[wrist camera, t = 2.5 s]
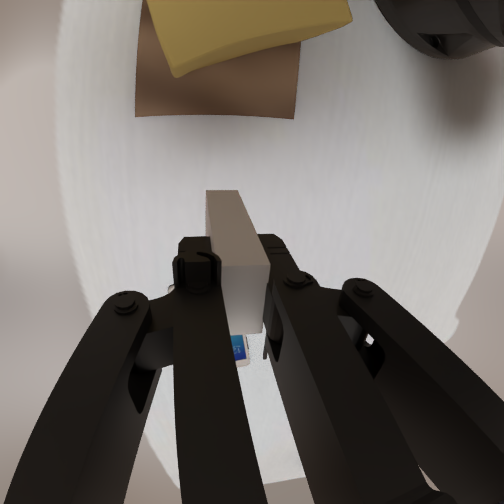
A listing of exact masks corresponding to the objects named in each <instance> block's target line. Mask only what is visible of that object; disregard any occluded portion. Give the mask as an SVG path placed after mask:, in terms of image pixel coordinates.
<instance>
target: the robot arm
mask: <svg viewBox="0 0 504 504" xmlns="http://www.w3.org/2000/svg"><path fill="white" fill-rule="evenodd" d="M376 2H377V4H378V6H379V8H380V10H381V12H382V13H383V15H384V16H385V18H386V19H387V21H388V22H389V23H390V25H391V26H392V27H393V28H394V29H395V31H396V32H397V33H398V34H399V35H400V36H401V37H402V38H403V39H404V40H405V41H406V42H407V43H409V44H410V45H411V46H412V47H414V48H415V49H417V50H418V51H420V52H422V53H424V54H426V55H428V56H431V57H434V58H439V59H463V58H466V57H469V56H471V55H474V54H477V53H479V52H482V51H484V50H487V49H490V48H493V47H495V46H499V47H504V0H376ZM172 266H173V278H174V289H173V290H172V291H171V292H170V293H169V294H167V295H165V296H163V297H160V298H157V299H153V300H148V298H147V297H146V296H145V295H144V294H142V293H140V292H136V291H123V292H119V293H116V294H114V295H112V296H110V297H109V298H108V299H107V300H106V301H105V302H104V304H103V305H102V307H101V308H100V310H99V312H98V313H97V315H96V316H95V318H94V319H93V321H92V323H91V324H90V326H89V328H88V329H87V331H86V332H85V334H84V336H83V338H82V339H81V341H80V342H79V344H78V346H77V347H76V349H75V351H74V353H73V354H72V356H71V358H70V359H69V361H68V363H67V365H66V367H65V368H64V370H63V372H62V374H61V376H60V377H59V379H58V381H57V383H56V385H55V387H54V389H53V390H52V392H51V394H50V396H49V398H48V401H47V402H46V404H45V406H44V408H43V410H42V412H41V414H40V416H39V418H38V420H37V422H36V425H35V427H34V429H33V431H32V433H31V435H30V438H29V440H28V442H27V444H26V447H25V449H24V451H23V454H22V456H21V458H20V461H19V463H18V466H17V468H16V471H15V473H14V476H13V479H12V482H11V484H10V487H9V489H8V492H7V495H6V498H5V501H4V504H123V503H124V499H125V495H126V491H127V488H128V483H129V480H130V476H131V472H132V469H133V465H134V461H135V458H136V454H137V451H138V447H139V444H140V440H141V437H142V433H143V430H144V427H145V423H146V420H147V417H148V413H149V410H150V407H151V404H152V400H153V397H154V394H155V391H156V388H157V384H158V381H159V378H160V375H161V372H162V368H163V367H166V366H169V365H173V375H174V408H175V428H176V444H177V457H178V469H179V479H180V489H181V498H182V504H268V502H267V498H266V494H265V490H264V487H263V482H262V478H261V474H260V470H259V466H258V462H257V458H256V454H255V449H254V445H253V441H252V436H251V432H250V427H249V423H248V418H247V414H246V409H245V405H244V400H243V395H242V391H241V386H240V381H239V376H238V371H237V366H236V361H235V356H234V351H233V346H232V341H231V336H230V335H244V334H256V333H262V328H263V322H264V325H265V328H266V338H265V345H264V351H263V359H266V358H267V353H268V355H269V358H270V362H271V365H272V368H273V371H274V375H275V378H276V381H277V385H278V388H279V391H280V395H281V398H282V401H283V404H284V408H285V411H286V414H287V417H288V421H289V424H290V427H291V430H292V434H293V437H294V440H295V443H296V447H297V450H298V453H299V456H300V459H301V462H302V466H303V469H304V472H305V475H306V478H307V481H308V485H309V488H310V491H311V494H312V497H313V500H314V503H315V504H504V401H503V400H502V399H501V398H500V397H499V396H498V395H497V394H496V393H495V392H494V391H493V390H492V389H491V388H490V387H489V386H488V385H487V384H486V383H485V382H484V381H483V380H482V379H481V378H480V377H478V375H476V373H474V372H473V371H472V370H471V369H470V368H469V367H468V366H467V365H466V364H465V363H464V362H463V361H462V360H461V359H460V358H459V357H458V356H457V355H456V354H455V353H453V352H452V351H451V350H450V349H449V348H448V347H447V346H446V345H445V344H444V343H443V342H442V341H441V340H439V339H438V338H437V337H436V336H435V335H434V334H433V333H432V332H431V331H429V330H428V329H427V328H426V327H425V326H424V325H423V324H422V323H421V322H419V321H418V320H417V319H416V318H415V317H414V316H413V315H411V314H410V313H409V312H408V311H407V310H406V309H405V308H403V307H402V306H401V305H400V304H399V303H398V302H397V301H395V300H394V299H393V298H392V297H391V296H389V295H388V294H387V293H386V292H385V291H384V290H382V289H381V288H380V287H379V286H378V285H376V284H375V283H373V282H371V281H369V280H366V279H363V278H351V279H348V280H346V281H345V282H344V284H343V286H342V290H338V289H330V288H324V287H320V286H319V284H318V282H317V281H316V279H315V278H314V277H313V276H312V275H310V274H308V273H306V272H304V271H300V270H299V268H298V266H297V265H296V263H295V261H294V259H293V258H292V256H291V254H290V252H289V251H288V249H287V248H286V245H285V244H284V242H283V240H282V239H280V238H279V237H278V236H276V235H275V234H257V233H256V231H255V228H254V226H253V224H252V222H251V219H250V217H249V215H248V213H247V210H246V208H245V206H244V204H243V201H242V199H241V197H240V195H239V192H238V190H206V236H201V237H184V238H183V239H182V240H181V241H180V242H179V244H178V255H177V256H176V257H175V258H174V260H173V262H172ZM368 334H369V335H370V336H371V337H372V338H373V339H374V341H373V344H372V345H371V344H369V343H367V342H366V341H365V340H366V338H367V336H368ZM418 465H419V466H418ZM419 467H420V468H421V469H422V470H423V471H424V472H425V474H426V475H427V476H428V477H429V478H430V480H431V481H432V482H433V483H434V484H435V486H436V487H437V488H438V489H439V490H440V491H436V490H433V489H432V488H431V487H429V485H428V484H427V482H426V480H425V478H424V476H423V474H422V472H421V470H420V468H419Z"/></svg>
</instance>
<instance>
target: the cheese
mask: <svg viewBox="0 0 504 504" xmlns="http://www.w3.org/2000/svg"><path fill="white" fill-rule="evenodd" d="M146 1H147V4H148V7H149V10H150V14H151V17H152V21H153V24H154V28H155V31H156V34H157V36H158V39H159V42H160V44H161V47H162V49H163V52H164V54H165V57H166V59H167V62H168V64H169V67H170V70H171V73H172V75H173V76H174V77H175V78H179V77H181V76H183V75H185V74H187V73H189V72H191V71H194V70H197V69H200V68H203V67H206V66H209V65H213V64H216V63H219V62H223V61H226V60H229V59H232V58H236V57H239V56H242V55H246V54H249V53H253V52H256V51H260V50H264V49H268V48H272V47H276V46H280V45H285V44H291V43H296V42H300V41H303V40H306V39H309V38H313V37H316V36H318V35H321V34H324V33H327V32H330V31H332V30H335V29H338V28H340V27H343V26H345V25H346V24H348V23H350V22H352V15H351V12H350V9H349V6H348V2H347V0H146Z"/></svg>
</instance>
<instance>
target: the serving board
mask: <svg viewBox="0 0 504 504" xmlns="http://www.w3.org/2000/svg"><path fill="white" fill-rule="evenodd" d="M300 46H301V41H300V42H296V43H291V44H285V45H280V46H276V47H272V48H268V49H264V50H260V51H256V52H253V53H249V54H246V55H242V56H239V57H236V58H232V59H229V60H226V61H223V62H219V63H216V64H213V65H209V66H206V67H203V68H200V69H197V70H194V71H191V72H189V73H187V74H185V75H183V76H181V77H179V78H175V77H174V76H173V75H172V73H171V70H170V67H169V64H168V62H167V59H166V57H165V54H164V52H163V49H162V47H161V44H160V42H159V39H158V36H157V34H156V31H155V28H154V24H153V21H152V17H151V14H150V10H149V7H148V4H147V1H146V0H143V2H142V9H141V18H140V27H139V38H138V50H137V66H136V91H135V117H144V116H162V115H240V116H259V117H273V118H285V119H294V112H295V102H296V92H297V81H298V70H299V58H300Z"/></svg>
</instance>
